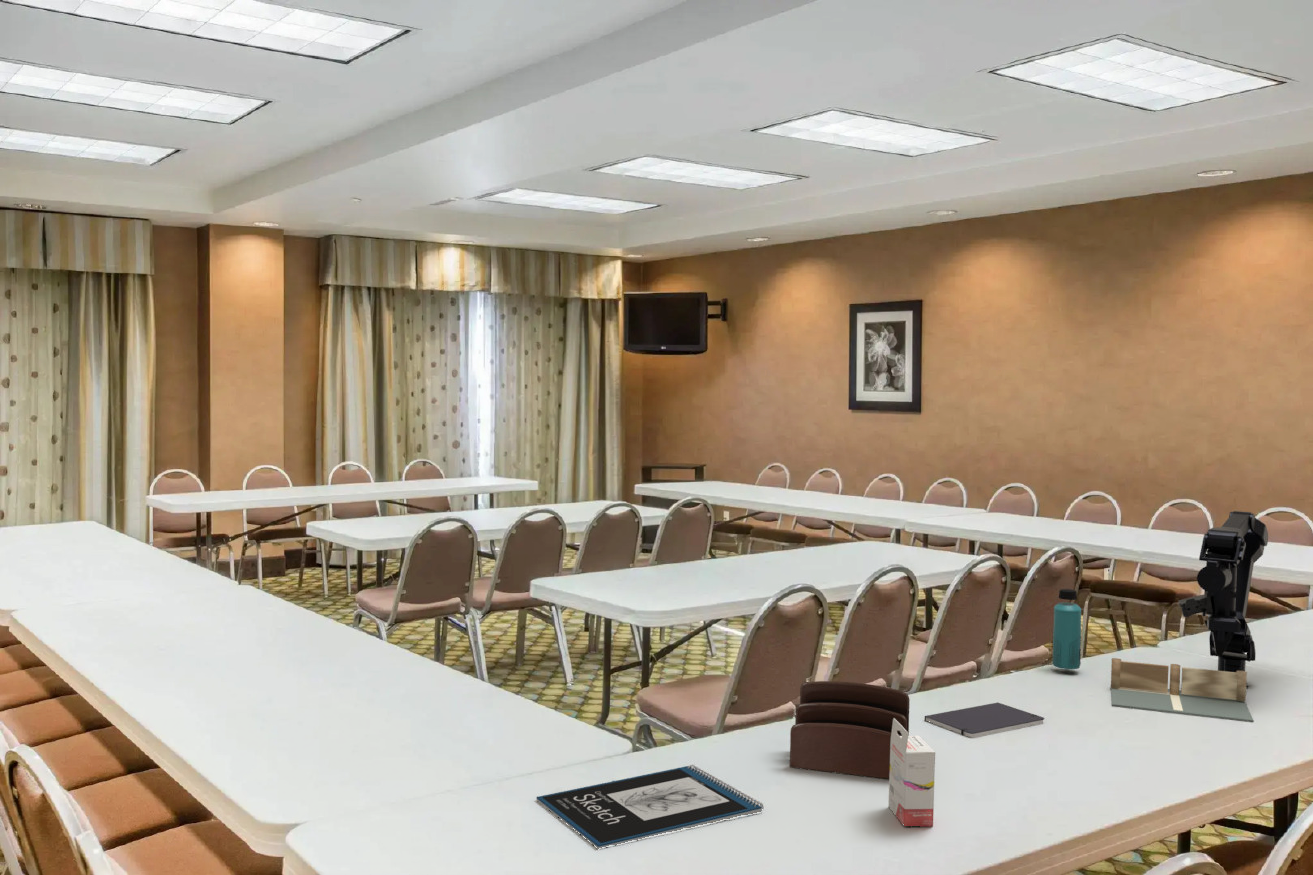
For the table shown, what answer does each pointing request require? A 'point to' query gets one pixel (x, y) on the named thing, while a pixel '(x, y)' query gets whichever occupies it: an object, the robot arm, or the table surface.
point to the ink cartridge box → (911, 778)
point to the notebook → (984, 719)
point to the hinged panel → (1214, 683)
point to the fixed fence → (1145, 676)
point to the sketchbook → (648, 805)
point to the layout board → (1181, 704)
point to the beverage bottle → (1067, 632)
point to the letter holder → (846, 727)
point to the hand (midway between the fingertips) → (1218, 655)
